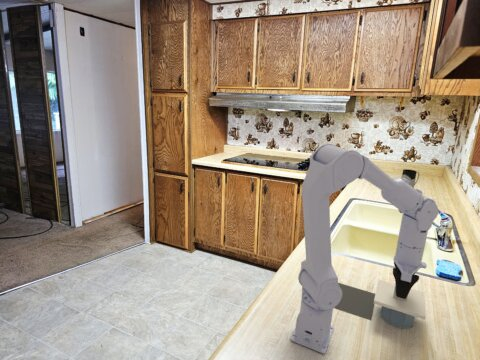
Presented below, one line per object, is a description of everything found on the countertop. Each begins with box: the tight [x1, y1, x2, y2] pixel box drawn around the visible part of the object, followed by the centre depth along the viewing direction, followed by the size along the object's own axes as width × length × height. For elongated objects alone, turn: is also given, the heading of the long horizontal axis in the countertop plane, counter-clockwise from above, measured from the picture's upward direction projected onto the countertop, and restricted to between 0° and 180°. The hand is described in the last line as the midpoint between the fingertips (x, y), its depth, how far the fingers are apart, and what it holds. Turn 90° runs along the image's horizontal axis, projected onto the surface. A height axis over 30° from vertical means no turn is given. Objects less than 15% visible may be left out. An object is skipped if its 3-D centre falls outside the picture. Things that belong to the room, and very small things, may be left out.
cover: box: [374, 279, 427, 320], centre depth 79 cm, size 11×11×5 cm
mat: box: [334, 282, 376, 321], centre depth 88 cm, size 13×13×1 cm
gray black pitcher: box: [400, 168, 420, 189], centre depth 197 cm, size 9×14×15 cm, turn 117°
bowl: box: [379, 306, 416, 330], centre depth 80 cm, size 7×7×4 cm
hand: (401, 293), depth 79 cm, fingers closed on cover, 3 cm apart
